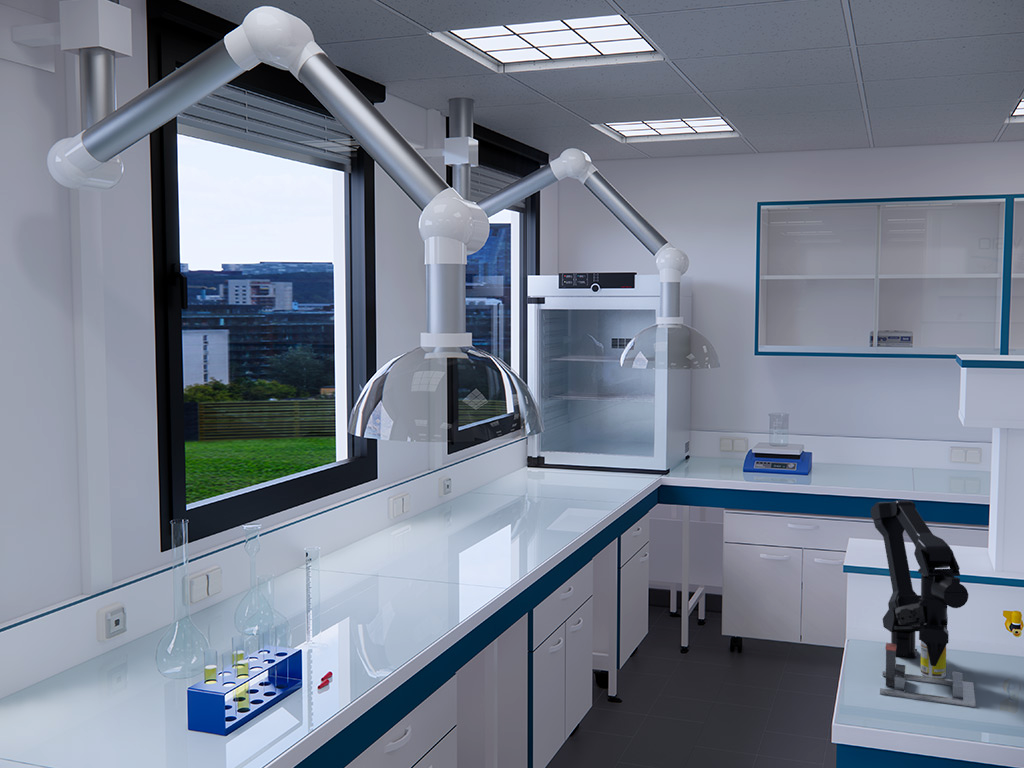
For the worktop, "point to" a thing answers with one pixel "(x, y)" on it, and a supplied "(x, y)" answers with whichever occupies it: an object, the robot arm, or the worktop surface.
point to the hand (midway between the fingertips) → (933, 660)
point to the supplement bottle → (926, 667)
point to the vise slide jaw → (894, 669)
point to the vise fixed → (960, 691)
